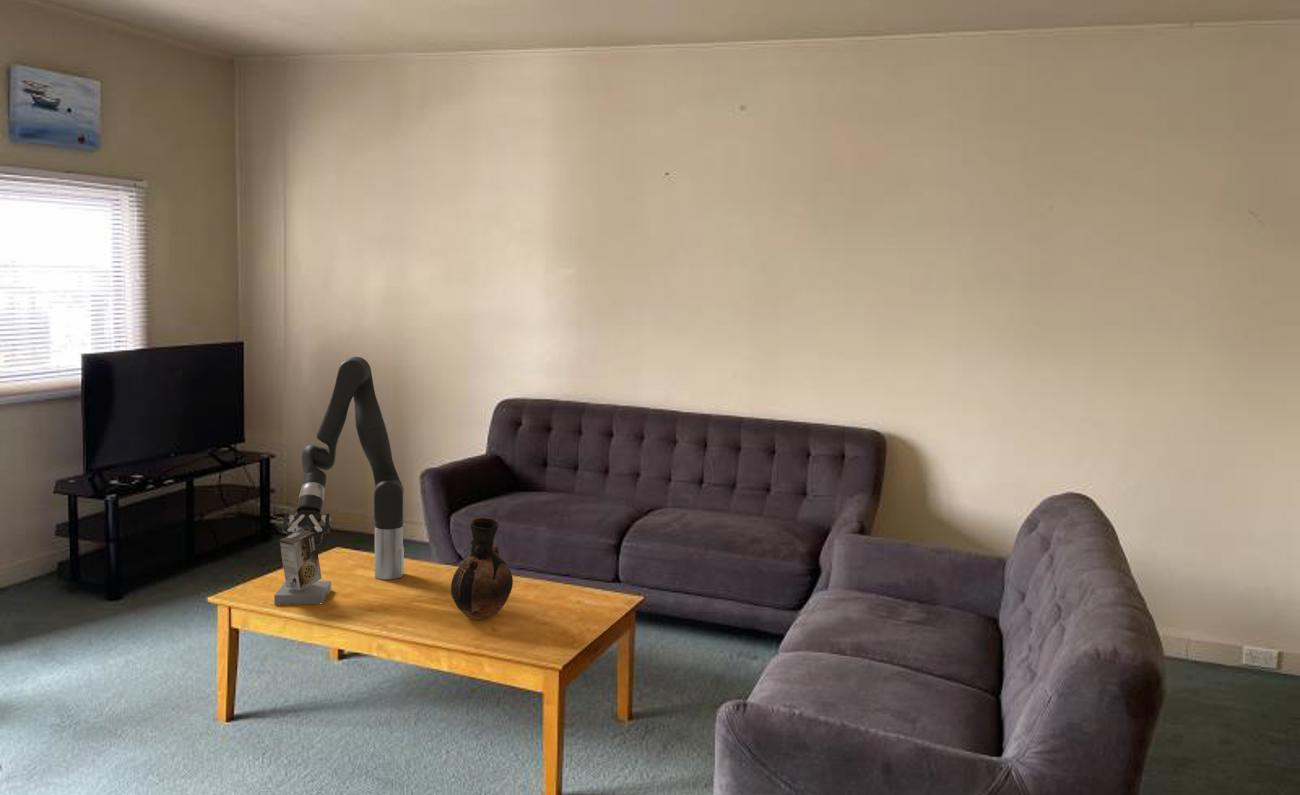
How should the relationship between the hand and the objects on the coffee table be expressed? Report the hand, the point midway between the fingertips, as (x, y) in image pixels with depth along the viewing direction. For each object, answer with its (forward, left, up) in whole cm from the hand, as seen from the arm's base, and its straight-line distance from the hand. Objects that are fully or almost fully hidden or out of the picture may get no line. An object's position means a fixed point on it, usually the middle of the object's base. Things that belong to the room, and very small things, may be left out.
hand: (303, 544), depth 302 cm
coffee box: (0, 0, -13) cm, 13 cm away
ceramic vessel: (-56, +19, -17) cm, 62 cm away
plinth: (0, 0, -17) cm, 17 cm away
